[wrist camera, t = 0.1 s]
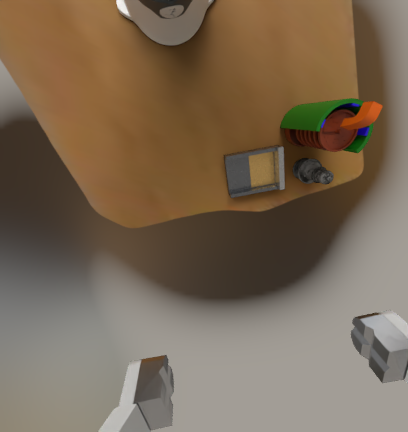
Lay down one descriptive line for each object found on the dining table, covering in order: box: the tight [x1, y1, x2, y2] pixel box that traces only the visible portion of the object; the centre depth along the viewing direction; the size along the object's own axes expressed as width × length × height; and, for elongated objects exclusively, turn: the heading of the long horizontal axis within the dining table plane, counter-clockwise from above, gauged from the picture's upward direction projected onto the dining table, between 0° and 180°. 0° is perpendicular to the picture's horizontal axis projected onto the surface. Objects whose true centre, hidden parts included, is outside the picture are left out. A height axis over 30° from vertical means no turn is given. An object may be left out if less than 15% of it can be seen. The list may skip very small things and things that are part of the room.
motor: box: [280, 98, 383, 153], centre depth 43 cm, size 10×9×20 cm
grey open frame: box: [224, 145, 285, 198], centre depth 54 cm, size 13×10×4 cm
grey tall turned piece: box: [293, 158, 333, 184], centre depth 51 cm, size 6×6×12 cm
